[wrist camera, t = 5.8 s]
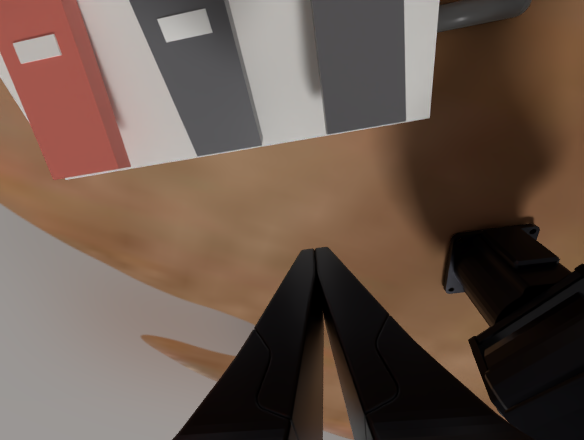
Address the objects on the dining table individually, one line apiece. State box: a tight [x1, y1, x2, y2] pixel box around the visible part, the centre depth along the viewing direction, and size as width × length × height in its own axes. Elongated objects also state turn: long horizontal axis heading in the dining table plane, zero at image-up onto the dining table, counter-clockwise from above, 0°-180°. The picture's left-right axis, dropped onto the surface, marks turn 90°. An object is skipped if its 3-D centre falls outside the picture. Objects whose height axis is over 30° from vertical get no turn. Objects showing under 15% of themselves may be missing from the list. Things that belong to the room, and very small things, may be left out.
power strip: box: [0, 0, 532, 180], centre depth 15 cm, size 9×28×3 cm, turn 100°
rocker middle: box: [129, 0, 263, 157], centre depth 12 cm, size 8×4×1 cm, turn 9°
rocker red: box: [0, 0, 131, 180], centre depth 13 cm, size 8×4×1 cm, turn 10°
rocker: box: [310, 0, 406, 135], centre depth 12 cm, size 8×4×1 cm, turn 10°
